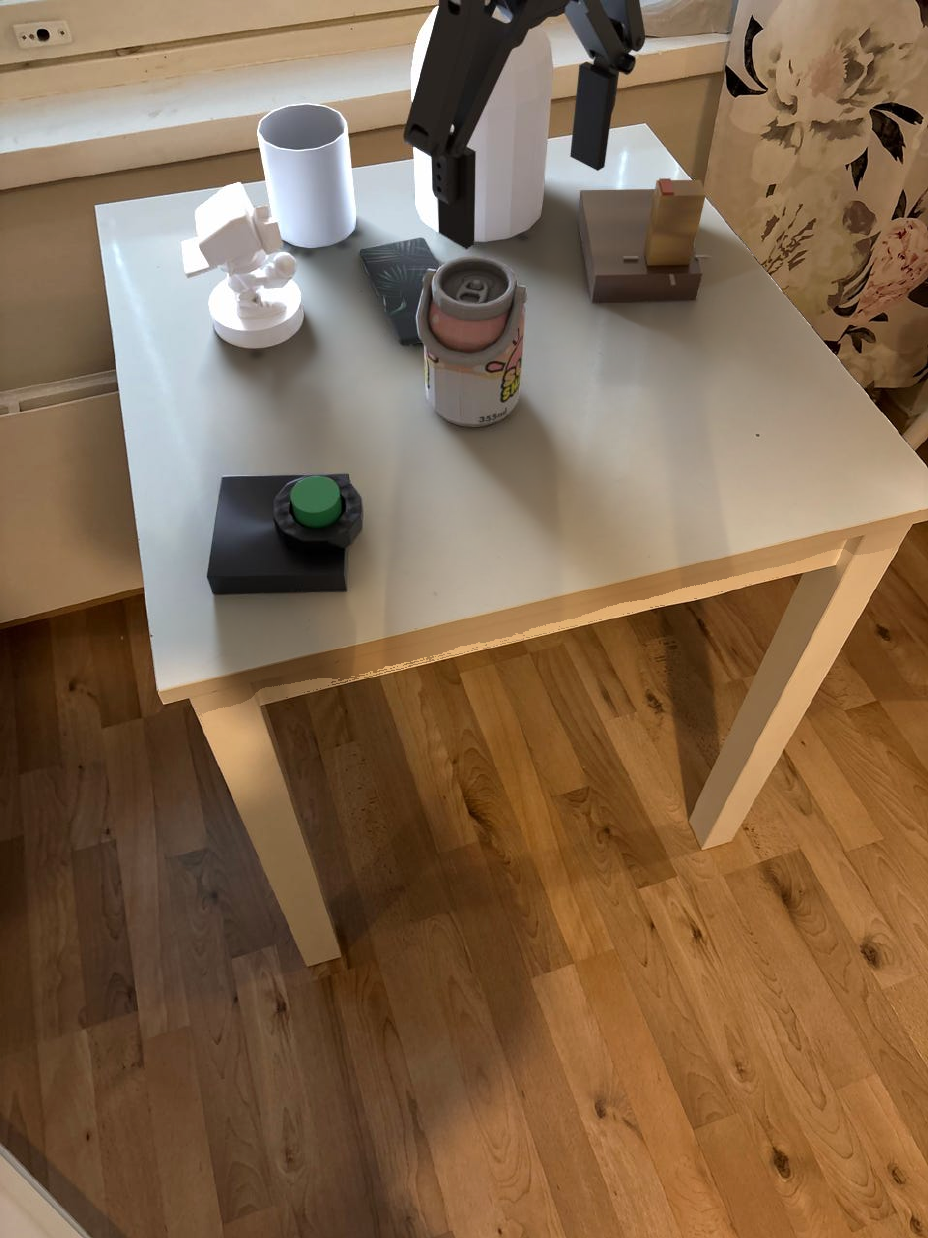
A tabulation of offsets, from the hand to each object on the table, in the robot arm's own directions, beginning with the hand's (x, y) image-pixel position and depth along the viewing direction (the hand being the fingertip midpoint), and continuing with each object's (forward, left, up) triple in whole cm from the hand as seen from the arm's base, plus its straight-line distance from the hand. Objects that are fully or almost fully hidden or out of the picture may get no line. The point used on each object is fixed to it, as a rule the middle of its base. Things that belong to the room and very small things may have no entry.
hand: (524, 199), depth 68 cm
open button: (-16, +16, -15) cm, 27 cm away
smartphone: (+14, +9, -19) cm, 25 cm away
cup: (+26, +19, -19) cm, 37 cm away
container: (+29, +2, -19) cm, 35 cm away
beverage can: (-1, +4, -19) cm, 19 cm away
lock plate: (+20, -13, -19) cm, 30 cm away
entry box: (-16, +19, -19) cm, 31 cm away
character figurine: (+11, +24, -19) cm, 32 cm away
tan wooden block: (+15, -15, -16) cm, 27 cm away
